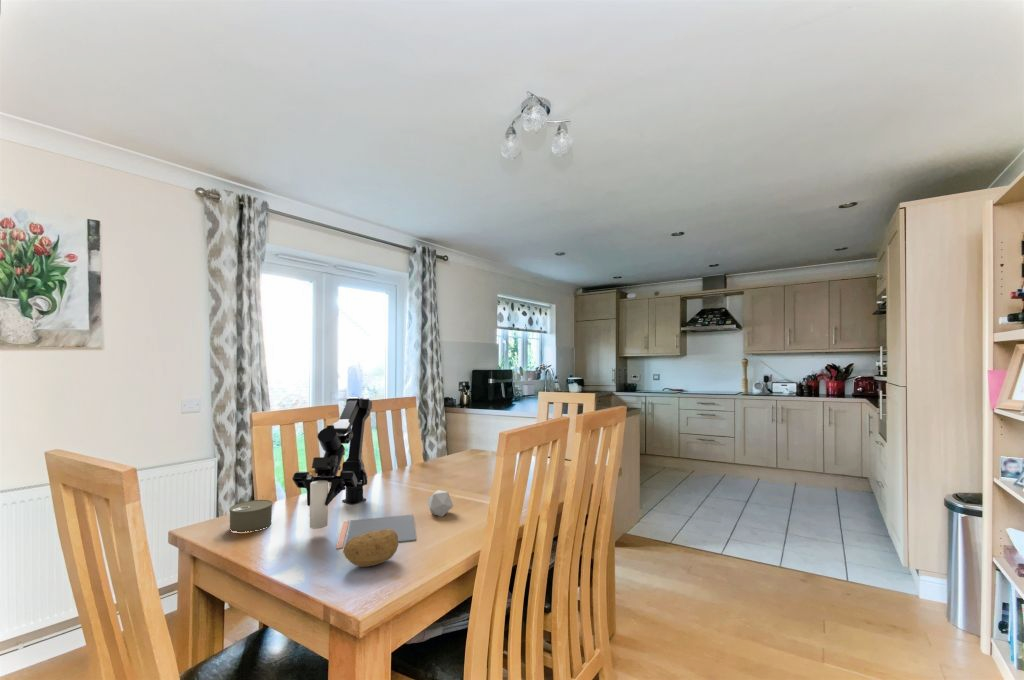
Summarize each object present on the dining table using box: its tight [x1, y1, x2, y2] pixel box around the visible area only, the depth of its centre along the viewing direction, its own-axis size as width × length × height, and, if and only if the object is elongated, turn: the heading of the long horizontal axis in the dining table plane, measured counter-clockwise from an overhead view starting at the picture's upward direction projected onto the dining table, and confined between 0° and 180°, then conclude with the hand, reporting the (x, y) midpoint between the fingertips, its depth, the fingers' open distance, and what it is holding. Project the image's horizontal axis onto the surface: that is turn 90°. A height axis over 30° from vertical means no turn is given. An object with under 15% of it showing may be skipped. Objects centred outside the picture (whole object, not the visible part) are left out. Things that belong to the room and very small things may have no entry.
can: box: [229, 499, 273, 532], centre depth 144 cm, size 12×12×7 cm
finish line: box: [335, 520, 350, 550], centre depth 137 cm, size 22×2×1 cm, turn 15°
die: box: [426, 489, 454, 518], centre depth 155 cm, size 8×9×10 cm
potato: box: [342, 529, 399, 568], centre depth 117 cm, size 10×14×8 cm
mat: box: [344, 514, 418, 546], centre depth 140 cm, size 20×22×1 cm
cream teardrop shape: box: [309, 480, 329, 530], centre depth 136 cm, size 5×5×13 cm
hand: (317, 505), depth 135 cm, fingers closed on cream teardrop shape, 5 cm apart
